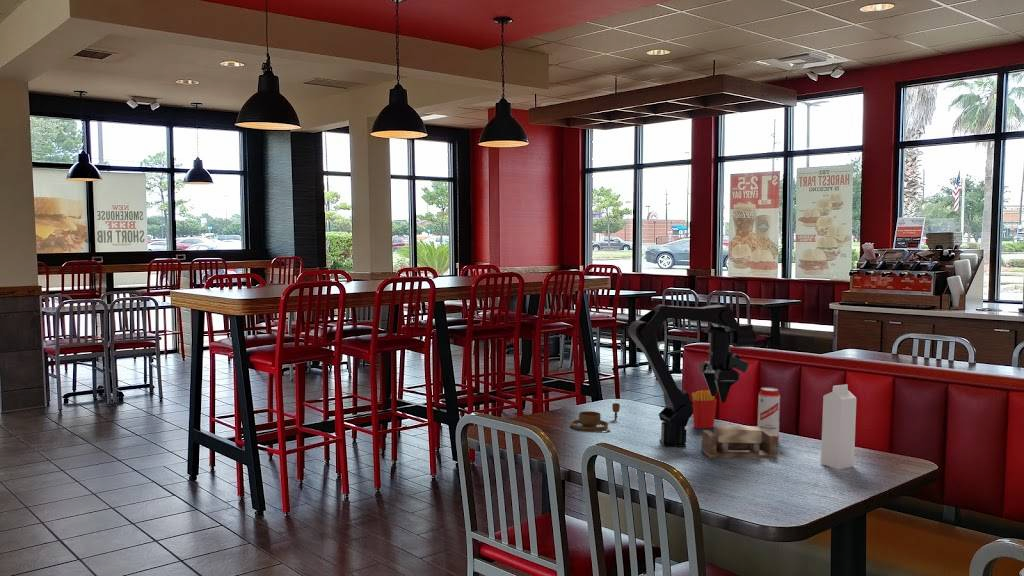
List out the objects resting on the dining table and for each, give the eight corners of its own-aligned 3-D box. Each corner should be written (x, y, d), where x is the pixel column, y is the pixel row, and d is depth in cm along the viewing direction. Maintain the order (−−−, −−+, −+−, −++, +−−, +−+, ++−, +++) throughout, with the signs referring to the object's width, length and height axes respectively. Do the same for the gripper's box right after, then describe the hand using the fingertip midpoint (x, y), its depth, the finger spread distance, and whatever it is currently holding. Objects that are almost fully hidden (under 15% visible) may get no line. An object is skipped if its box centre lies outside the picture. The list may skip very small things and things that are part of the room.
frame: (709, 457, 221) (710, 436, 221) (701, 450, 229) (701, 429, 229) (776, 457, 222) (777, 436, 222) (765, 450, 230) (766, 429, 230)
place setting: (561, 423, 263) (562, 405, 263) (617, 419, 269) (617, 402, 269) (582, 435, 246) (583, 417, 246) (641, 431, 253) (641, 413, 252)
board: (718, 442, 223) (718, 429, 223) (714, 437, 228) (714, 425, 228) (761, 443, 223) (761, 430, 223) (756, 438, 228) (756, 426, 228)
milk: (853, 467, 214) (858, 386, 213) (838, 470, 211) (842, 387, 210) (834, 461, 219) (838, 382, 218) (819, 464, 216) (823, 383, 215)
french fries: (710, 424, 262) (711, 388, 261) (717, 427, 258) (718, 390, 257) (688, 426, 259) (689, 389, 258) (695, 429, 255) (696, 391, 254)
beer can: (779, 444, 237) (781, 391, 236) (758, 443, 238) (759, 390, 237) (777, 439, 243) (779, 387, 242) (755, 438, 244) (757, 386, 243)
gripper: (757, 352, 228) (756, 405, 229) (735, 343, 246) (734, 393, 247) (719, 351, 227) (718, 405, 228) (700, 343, 246) (698, 393, 247)
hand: (718, 399), depth 238 cm, fingers open, 9 cm apart
